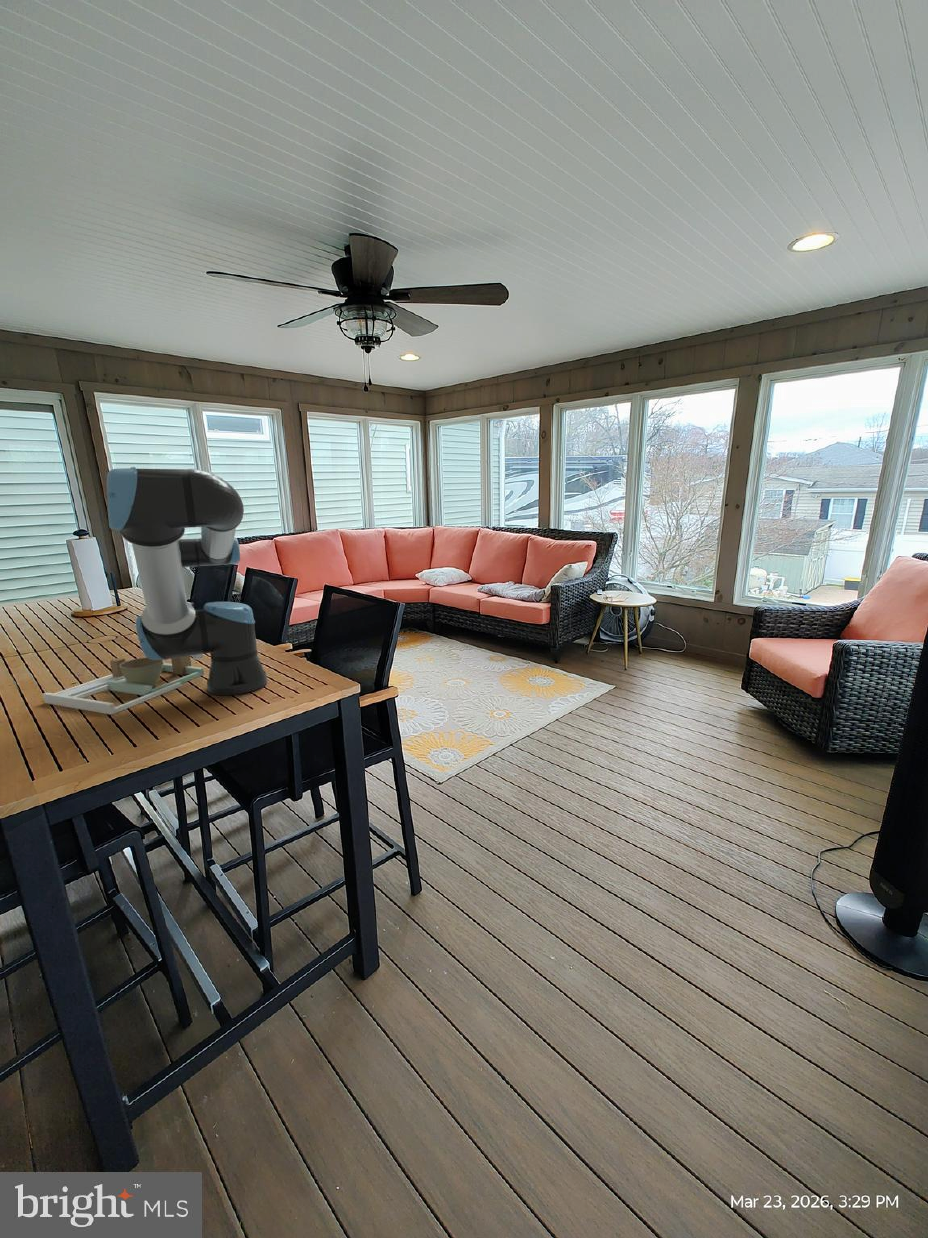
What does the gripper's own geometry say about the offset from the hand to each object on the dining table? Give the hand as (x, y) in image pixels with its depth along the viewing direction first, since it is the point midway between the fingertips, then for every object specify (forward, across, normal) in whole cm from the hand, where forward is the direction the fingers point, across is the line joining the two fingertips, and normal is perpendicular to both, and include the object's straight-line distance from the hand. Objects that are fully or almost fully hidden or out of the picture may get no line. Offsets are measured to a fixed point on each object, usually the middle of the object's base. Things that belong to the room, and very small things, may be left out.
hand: (180, 657), depth 149 cm
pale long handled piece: (+5, +13, +18) cm, 23 cm away
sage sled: (+5, 0, +8) cm, 9 cm away
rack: (+5, +4, +18) cm, 19 cm away
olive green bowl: (+5, 0, +12) cm, 13 cm away
